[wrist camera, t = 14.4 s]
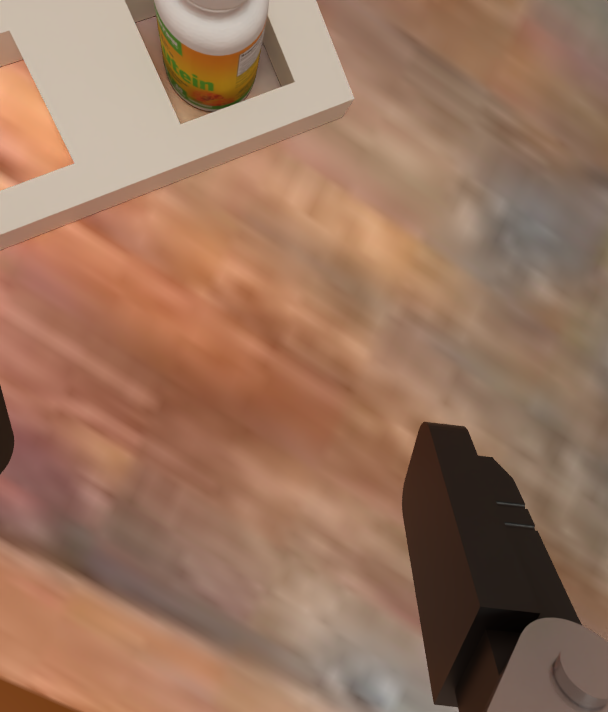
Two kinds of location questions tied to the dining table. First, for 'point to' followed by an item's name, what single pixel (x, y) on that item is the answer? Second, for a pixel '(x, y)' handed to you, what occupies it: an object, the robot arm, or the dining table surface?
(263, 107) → the socket rail
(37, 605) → the dining table surface
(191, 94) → the supplement bottle
